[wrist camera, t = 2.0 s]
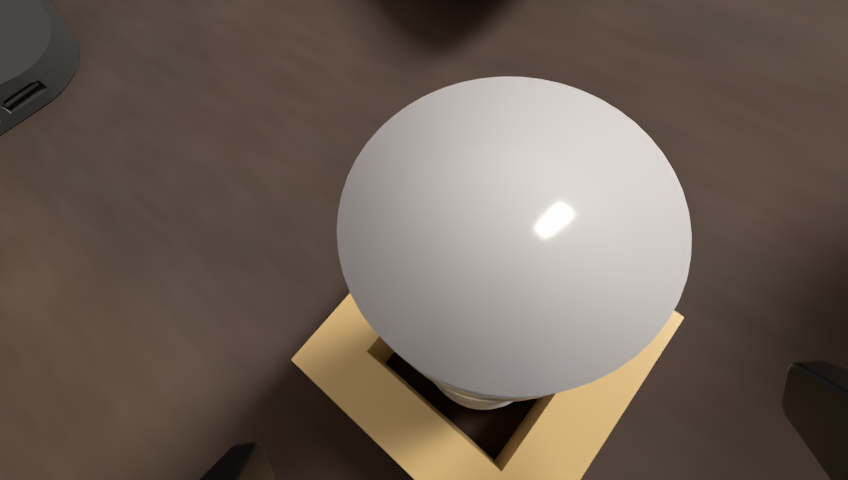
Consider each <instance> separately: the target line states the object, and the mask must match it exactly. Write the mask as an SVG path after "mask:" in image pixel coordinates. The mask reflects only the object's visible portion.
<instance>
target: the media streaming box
mask: <svg viewBox="0 0 848 480" xmlns="http://www.w3.org/2000/svg"><path fill="white" fill-rule="evenodd" d="M79 54H80V53H79V46H78V44H77V42H76V40H75V38H74V37H73V35H72V33H71V31H70V30H69V28H68V26H67V25H66V23H65V22H64V20H63V19H62V17H61V15H60V14H59V12H58V11H57V10H56V8H55V7H54V5H53V4H52V3H51V1H50V0H0V135H1V134H2V133H4V132H6V131H7V130H9V129H10V128H12V127H13V126H15V125H16V124H18V123H19V122H21V121H22V120H24V119H25V118H27V117H28V116H30V115H31V114H33V113H34V112H36V111H37V110H39V109H40V108H42V107H43V106H45V105H46V104H48V103H49V102H50V101H52V100H53V99H54V98H55V97H56V96H57V95H58V94H59V93H60V92H61V91H62V90H63V89H64V88H65V87H66V85H67V84H68V83H69V81H70V80H71V78H72V77H73V75H74V73H75V71H76V68H77V65H78V62H79Z"/></svg>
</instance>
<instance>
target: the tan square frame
mask: <svg viewBox="0 0 848 480" xmlns="http://www.w3.org/2000/svg"><path fill="white" fill-rule="evenodd" d="M683 319H684V317H683V316H682V315H680V314H679V313H677V312H676V311H673V313H672V314H671V316H670V318H669V320H668V321H667V323H666V324H665V325H664V327H663V328H662V329H661V331H660V332H659V333H658V334H657V336H656V337H655V338H654V340H653V341H652V342H650V343H649V344H648V345H647V346H646V347H645V348H644V349H643V350H642V351H641V352H640V353H639V354H638V355H637V356H636V357H634V358H633V359H632V360H630V361H629V362H627V363H626V364H624V365H623V366H621V367H620V368H619V369H617V370H616V371H614V372H612V373H610V374H608V375H606V376H604V377H602V378H600V379H598V380H596V381H594V382H592V383H589V384H586V385H583V386H580V387H577V388H573V389H570V390H567V391H564V392H560V393H556V394H552V395H548V396H543V397H539V398H538V399H537V401H536V402H535V404H534V405H533V407H532V408H531V409H530V411H529V412H528V414H527V415H526V417H525V418H524V419H523V421H522V422H521V424H520V425H519V427H518V428H517V429H516V431H515V432H514V434H513V435H512V437H511V438H510V439H509V441H508V442H507V444H506V445H505V446H504V448H503V449H502V451H501V452H500V454H499V455H498V456H497V458H496V459H495V460H494V459H493V458H492V457H491V456H490V455H488V454H487V453H486V452H485V451H484V450H483V449H482V448H481V447H479V446H478V445H477V444H476V443H475V442H474V441H473V440H471V439H470V438H469V437H468V436H467V435H466V434H465V433H464V432H462V431H461V430H460V429H459V428H458V427H457V426H456V425H455V424H453V423H452V422H451V421H450V420H449V419H448V418H447V417H446V416H444V415H443V414H442V413H441V412H440V411H439V410H438V409H436V408H435V407H434V406H433V405H432V404H431V403H430V402H429V401H427V400H426V399H425V398H424V397H423V396H422V395H421V394H420V393H418V392H417V391H416V390H415V389H414V388H413V387H412V386H410V385H409V384H408V383H407V382H406V381H405V380H404V379H403V378H401V377H400V376H399V375H398V374H397V373H396V372H395V371H394V370H392V369H391V368H390V367H389V366H388V365H387V364H386V362H387V361H388V360H389V358H390V357H391V356H392V355H393V354H394V352H395V351H394V350H393V349H392V348H391V347H390V346H389V345H388V344H387V343H386V342H385V341H384V340H383V339H382V338H381V337H380V336H379V335H378V334H376V332H375V331H374V330H373V328H372V327H371V326H370V324H369V323H368V322H367V320H366V319H365V318H364V317H363V315H362V314H361V312H360V310H359V308H358V306H357V305H356V303H355V301H354V299H353V298H352V296H351V293H349V295H348V296H347V297H346V298H345V299H344V300H343V301H342V303H341V304H340V305H339V306H338V307H337V308H336V309H335V310H334V312H333V313H332V314H331V315H330V316H329V317H328V318H327V319H326V321H325V322H324V323H323V324H322V325H321V326H320V327H319V329H318V330H317V331H316V332H315V333H314V334H313V335H312V336H311V338H310V339H309V340H308V341H307V342H306V343H305V344H304V345H303V347H302V348H301V349H300V350H299V351H298V352H297V353H296V354H295V356H294V357H293V358H292V359H291V360H292V361H293V362H294V363H295V364H296V365H297V366H298V367H299V368H300V369H301V370H302V371H303V372H304V373H305V374H306V375H307V376H308V377H309V378H310V379H311V380H312V381H313V382H314V383H315V384H316V385H317V386H318V387H319V388H321V389H322V390H323V391H324V392H325V393H326V394H327V395H328V396H329V397H330V398H331V399H332V400H333V401H334V402H335V403H336V404H337V405H338V406H339V407H340V408H341V409H342V410H343V411H344V412H345V413H346V414H347V415H348V416H349V417H350V418H351V419H352V420H354V421H355V422H356V423H357V424H358V425H359V426H360V427H361V428H362V429H363V430H364V431H365V432H366V433H367V434H368V435H369V436H370V437H371V438H372V439H373V440H374V441H375V442H376V443H377V444H378V445H379V446H380V447H381V448H382V449H383V450H384V451H385V452H387V453H388V454H389V455H390V456H391V457H392V458H393V459H394V460H395V461H396V462H397V463H398V464H399V465H400V466H401V467H402V468H403V469H404V470H405V471H406V472H407V473H408V474H409V475H410V476H411V477H412V478H413V479H414V480H580V479H581V478H582V476H583V475H584V473H585V471H586V470H587V468H588V467H589V465H590V464H591V462H592V461H593V459H594V457H595V456H596V454H597V453H598V451H599V450H600V448H601V446H602V445H603V443H604V442H605V440H606V439H607V437H608V436H609V434H610V432H611V431H612V429H613V428H614V426H615V425H616V423H617V422H618V420H619V418H620V417H621V415H622V414H623V412H624V411H625V409H626V407H627V406H628V404H629V403H630V401H631V400H632V398H633V397H634V395H635V393H636V392H637V390H638V389H639V387H640V386H641V384H642V383H643V381H644V379H645V378H646V376H647V375H648V373H649V372H650V370H651V369H652V367H653V365H654V364H655V362H656V361H657V359H658V358H659V356H660V354H661V353H662V351H663V350H664V348H665V347H666V345H667V344H668V342H669V340H670V339H671V337H672V336H673V334H674V333H675V331H676V330H677V328H678V326H679V325H680V323H681V322H682V320H683Z"/></svg>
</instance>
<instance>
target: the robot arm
mask: <svg viewBox="0 0 848 480" xmlns="http://www.w3.org/2000/svg"><path fill="white" fill-rule="evenodd" d="M781 405H782V409H783V411H784V413H785V415H786V417H787V418H788V420H789V421H790V422H791V424H792V425H793V427H794V428H795V430H796V431H797V432H798V434H799V435H800V437H801V438H802V439H803V441H804V442H805V444H806V445H807V446H808V448H809V449H810V451H811V452H812V453H813V455H814V456H815V458H816V459H817V461H818V462H819V463H820V465H821V466H822V468H823V469H824V470H825V472H826V473H827V475H828V476H829V477H830V479H831V480H848V370H847V369H844V368H841V367H839V366H836V365H833V364H831V363H828V362H825V361H822V360H808V361H801V362H795V363H792V364H791V365H790V366H789V367H788V369H787V373H786V377H785V382H784V387H783V392H782V396H781ZM200 480H275V475H274V472H273V469H272V467H271V464H270V462H269V460H268V457H267V455H266V453H265V450H264V448H263V446H262V444H261V443H260V442H258V441H251V442H244V443H238V444H235V445H234V446H232V447H231V448H230V449H229V450H228V451H227V452H226V453H225V454H224V455H223V456H222V457H221V458H220V459H219V460H218V461H217V462H216V463H215V464H214V465H213V466H212V467H211V468H210V469H209V470H208V471H207V472H206V473H205V474H204V475H203V476H202V477H201V478H200Z"/></svg>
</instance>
